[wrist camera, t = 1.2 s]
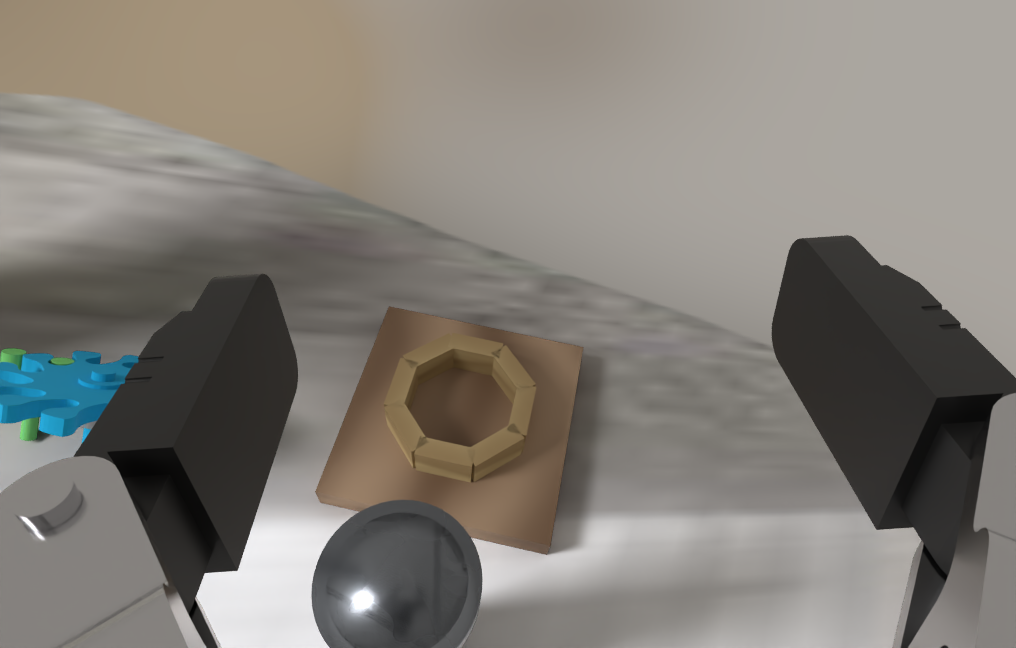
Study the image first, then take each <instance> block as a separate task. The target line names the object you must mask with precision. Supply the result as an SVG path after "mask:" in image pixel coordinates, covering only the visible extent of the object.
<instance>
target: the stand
mask: <svg viewBox="0 0 1016 648" xmlns="http://www.w3.org/2000/svg"><path fill="white" fill-rule="evenodd" d="M582 352H583V347H579V346H575V345H570V344H565V343H560V342H556V341H551V340H546V339H541V338H537V337H532V336H527V335H522V334H518V333H513V332H508V331H503V330H499V329H494V328H489V327H484V326H480V325H475V324H470V323H465V322H461V321H456V320H451V319H446V318H442V317H437V316H432V315H427V314H423V313H418V312H413V311H408V310H404V309H399V308H394V307H389V308H388V310H387V313H386V315H385V318H384V320H383V323H382V325H381V328H380V330H379V333H378V335H377V338H376V340H375V343H374V346H373V348H372V351H371V353H370V356H369V358H368V361H367V363H366V366H365V368H364V371H363V373H362V376H361V378H360V381H359V383H358V386H357V388H356V391H355V393H354V396H353V398H352V401H351V403H350V406H349V408H348V411H347V413H346V416H345V418H344V421H343V423H342V426H341V428H340V431H339V434H338V436H337V439H336V441H335V444H334V446H333V449H332V451H331V454H330V456H329V459H328V461H327V464H326V466H325V469H324V471H323V474H322V476H321V479H320V481H319V484H318V486H317V489H316V491H315V492H316V494H317V496H318V499H319V501H320V502H321V503H325V504H329V505H334V506H338V507H342V508H347V509H351V510H355V511H362V510H364V509H366V508H368V507H370V506H373V505H376V504H379V503H383V502H387V501H393V500H415V501H421V502H424V503H428V504H431V505H433V506H436V507H438V508H440V509H442V510H444V511H445V512H447V513H448V514H450V515H451V516H452V517H453V518H455V519H456V520H457V521H458V522H459V523H460V524H461V525H462V526H463V527H464V529H465V530H466V531H467V533H468V534H469V536H470V537H472V538H476V539H481V540H485V541H489V542H494V543H498V544H502V545H507V546H511V547H515V548H520V549H524V550H528V551H533V552H537V553H541V554H546V555H547V553H548V550H549V548H550V545H551V539H552V533H553V527H554V521H555V515H556V509H557V503H558V497H559V491H560V485H561V479H562V473H563V467H564V461H565V455H566V449H567V442H568V436H569V430H570V424H571V418H572V412H573V406H574V400H575V394H576V388H577V382H578V376H579V370H580V364H581V358H582Z"/></svg>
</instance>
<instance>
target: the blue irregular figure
mask: <svg viewBox="0 0 1016 648" xmlns="http://www.w3.org/2000/svg"><path fill="white" fill-rule="evenodd" d="M100 359H101V354H100V353H95V352H86V351H75V352H73V356H72V359H69V358H54V357H53V356H52V355H51V354H44V353H37V354H26V351H25V350H21V349H14V348H9V349H3V350H2V351H1V358H0V423H16V422H20V421H22V424H21V433H20V439H21V440H25V441H31V440H35V439H37V433H38V425H39V417H41V419H40V427H39V430H40V431H42V432H45V433H47V434H51V435H56V436H61V437H64V436H69V435H72V434H73V433H75V431H76V429H77V428H78V427H82V428H84V432H83V439H82V443H83V441H84V440H85V438H86V437H87V435H88V434H89V432H90V431H91V429H92V428H93V426H94V425H95V423H96V422H97V420H98V418H99V417H100V415H101V414H102V412H103V411H104V409H105V408H106V406H107V405H108V403H109V402H110V400H111V399H112V397H113V396H114V394H115V392H116V391H117V389H118V388H119V386H120V385H121V384H125V377H126V376H127V374H128V373H129V371H130V370H131V368H132V367H133V365H134V363H138V356H133V355H126V356H123V357H122V359H120V360H119V361H116V362H112V363H107V364H100Z"/></svg>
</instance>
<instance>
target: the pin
mask: <svg viewBox="0 0 1016 648" xmlns="http://www.w3.org/2000/svg"><path fill="white" fill-rule="evenodd" d="M481 593H482V569H481V563H480V559H479V555H478V552H477V550H476V547H475V545H474V543H473V541H472V539H471V537H470V536H469V534H468V533H467V531H466V530H465V529H464V527H463V526H462V525H461V524H460V523H459V522H458V521H457V520H456V519H455V518H453V517H452V516H451V515H450V514H448V513H447V512H445V511H444V510H442V509H440V508H438V507H436V506H433V505H431V504H428V503H424V502H421V501H415V500H393V501H387V502H383V503H379V504H376V505H373V506H370V507H368V508H366V509H364V510H362V511H360V512H359V513H357V514H356V515H354V516H353V517H351V518H350V519H349V520H348V521H346V522H345V523H344V524H343V525H342V526H341V527H340V528H339V529H338V530H337V531H336V532H335V533H334V535H333V536H332V537H331V538H330V540H329V541H328V543H327V544H326V546H325V548H324V549H323V551H322V553H321V556H320V558H319V560H318V562H317V566H316V569H315V572H314V577H313V583H312V607H313V612H314V617H315V621H316V623H317V626H318V629H319V631H320V633H321V635H322V637H323V639H324V640H325V642H326V643H327V645H328V646H329V647H330V648H463V644H464V643H465V642H466V640H467V638H468V636H469V635H470V633H471V631H472V629H473V626H474V624H475V621H476V618H477V615H478V611H479V605H480V599H481Z"/></svg>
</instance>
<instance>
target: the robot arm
mask: <svg viewBox="0 0 1016 648" xmlns="http://www.w3.org/2000/svg"><path fill="white" fill-rule="evenodd" d="M772 342H773V348H774V352H775V355H776V358H777V360H778V362H779V364H780V365H781V367H782V369H783V370H784V372H785V374H786V376H787V377H788V379H789V381H790V382H791V384H792V386H793V387H794V389H795V391H796V393H797V394H798V396H799V398H800V399H801V401H802V403H803V405H804V406H805V408H806V410H807V411H808V413H809V415H810V417H811V418H812V420H813V422H814V423H815V425H816V427H817V429H818V430H819V432H820V434H821V435H822V437H823V439H824V441H825V442H826V444H827V446H828V447H829V449H830V451H831V453H832V454H833V456H834V458H835V459H836V461H837V463H838V465H839V466H840V468H841V470H842V471H843V473H844V475H845V476H846V478H847V480H848V482H849V483H850V485H851V487H852V488H853V490H854V492H855V494H856V495H857V497H858V499H859V500H860V502H861V504H862V506H863V507H864V509H865V511H866V512H867V514H868V516H869V518H870V519H871V521H872V523H873V524H874V526H875V528H876V530H880V529H894V528H909V527H914V529H915V530H916V532H917V533H918V535H919V537H920V538H921V540H922V541H921V542H920V544H919V546H918V548H917V550H916V552H915V555H914V557H913V562H912V566H911V570H910V574H909V579H908V583H907V587H906V592H905V596H904V600H903V604H902V609H901V613H900V617H899V622H898V626H897V630H896V634H895V639H894V643H893V647H892V648H1016V378H1015V377H1014V376H1013V375H1012V374H1011V373H1010V372H1009V371H1008V370H1007V369H1006V368H1005V367H1004V366H1003V365H1002V364H1001V363H1000V362H999V361H998V360H997V359H996V358H995V357H994V356H993V355H992V354H991V353H990V352H989V351H988V350H987V349H986V348H985V347H984V346H983V345H982V344H981V343H980V342H979V341H978V340H977V339H976V338H975V337H974V336H973V335H972V334H971V333H970V332H969V331H968V330H967V329H965V328H962V329H961V328H960V323H959V321H958V320H956V318H955V317H954V316H952V314H950V313H949V312H948V311H947V310H942V305H941V304H940V303H939V302H938V301H937V300H936V299H935V298H934V297H933V296H932V295H931V294H930V293H929V292H928V291H927V290H926V289H925V288H924V287H923V286H922V285H921V284H920V283H919V282H917V281H915V280H913V279H911V278H910V277H908V276H906V275H904V274H902V273H900V272H898V271H897V270H895V269H893V268H891V267H889V266H887V265H884V266H881V265H880V264H879V263H878V262H877V261H876V260H875V259H874V258H873V257H872V256H871V254H869V253H868V251H867V250H866V249H865V248H864V247H863V246H862V245H861V244H860V243H859V242H858V241H857V240H856V239H855V238H853V237H852V236H848V235H847V236H833V237H818V238H802V239H797V240H796V241H795V242H794V243H793V244H792V246H791V248H790V250H789V254H788V257H787V262H786V266H785V271H784V275H783V279H782V283H781V287H780V292H779V296H778V300H777V305H776V309H775V313H774V317H773V323H772ZM297 382H298V367H297V359H296V354H295V350H294V347H293V344H292V341H291V338H290V335H289V332H288V329H287V326H286V322H285V319H284V316H283V313H282V310H281V307H280V304H279V301H278V297H277V294H276V291H275V288H274V286H273V283H272V281H271V280H270V278H269V277H268V276H267V275H265V274H256V275H241V276H226V277H215V278H213V279H212V280H211V281H210V282H209V284H208V285H207V287H206V289H205V290H204V292H203V293H202V295H201V297H200V298H199V300H198V302H197V303H196V305H195V307H194V308H193V310H192V311H188V312H181V313H179V314H178V315H177V316H176V317H174V318H173V319H172V320H171V321H169V322H168V323H167V324H166V325H164V326H163V327H162V328H161V329H159V330H158V331H157V332H156V333H154V334H153V336H152V337H151V339H150V341H149V342H148V344H147V345H146V347H145V348H144V350H143V351H142V353H141V354H140V356H139V357H138V363H134V365H133V367H132V368H131V370H130V371H129V373H128V374H127V376H126V377H125V384H121V385H120V386H119V388H118V389H117V391H116V392H115V394H114V396H113V397H112V399H111V400H110V402H109V403H108V405H107V406H106V408H105V409H104V411H103V412H102V414H101V415H100V417H99V418H98V420H97V422H96V423H95V425H94V426H93V428H92V429H91V431H90V432H89V434H88V435H87V437H86V438H85V440H84V441H83V443H82V444H81V446H80V448H79V449H78V451H77V452H76V454H75V455H74V457H71V458H67V459H62V460H59V461H56V462H53V463H50V464H47V465H45V466H43V467H40V468H38V469H36V470H34V471H32V472H30V473H28V474H26V475H25V476H23V477H22V478H20V479H19V480H17V481H15V482H14V483H13V484H11V485H10V486H9V487H7V488H6V489H5V490H4V491H3V492H2V493H0V648H221V646H220V644H219V642H218V639H217V637H216V635H215V633H214V631H213V629H212V627H211V625H210V623H209V620H208V618H207V616H206V614H205V612H204V610H203V608H202V606H201V604H200V602H199V601H198V599H197V597H196V595H197V592H198V590H199V587H200V584H201V581H202V579H203V576H204V573H211V572H226V571H238V568H239V565H240V561H241V558H242V555H243V552H244V549H245V546H246V543H247V540H248V537H249V534H250V531H251V528H252V525H253V522H254V519H255V515H256V512H257V509H258V506H259V503H260V500H261V497H262V494H263V491H264V488H265V485H266V482H267V479H268V476H269V473H270V470H271V466H272V463H273V460H274V457H275V454H276V451H277V448H278V445H279V442H280V439H281V436H282V433H283V430H284V427H285V424H286V421H287V417H288V414H289V411H290V408H291V405H292V402H293V399H294V396H295V393H296V389H297Z"/></svg>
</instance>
